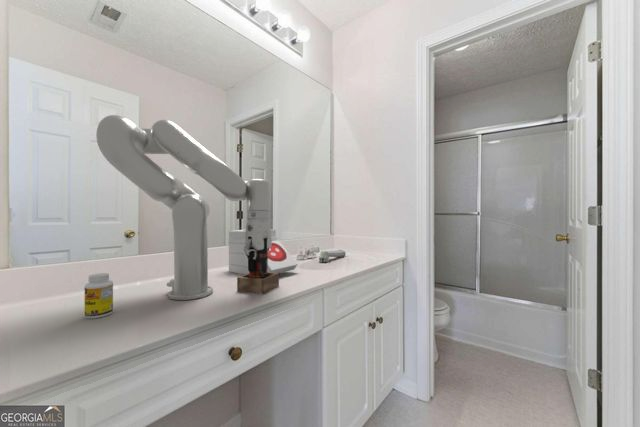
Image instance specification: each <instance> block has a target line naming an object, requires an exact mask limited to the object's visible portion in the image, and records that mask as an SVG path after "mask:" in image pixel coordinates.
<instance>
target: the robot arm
mask: <svg viewBox="0 0 640 427" xmlns="http://www.w3.org/2000/svg"><path fill="white" fill-rule="evenodd" d="M96 143H97V147H98V149H99V151H100V152H101V154H102V155H103V157H104V158H105V159H106V161H107V162H108V164H110V165H111V166H112V167H113V168H114V169H116V170H117V171H118V172H120V173H121V174H122V175H123V176H124V177H125V178H127V179H128V180H129V181H130V182H131V183H132V184H134V185H135V186H136V187H137V188H139V189H140V190H142V191H143V192H144V193H145V194H146V195H147V196H149V197H150V198H151V199H152V200H154V201H157V202H161V203H162V204H164V205H165V206H166V207H168V208H169V209H171V211H172V212H171V217H172V227H173V229H172V230H173V252H174V253H173V257H174V258H173V260H174V261H173V262H174V263H173V268H174V269H173V271H174V272H173V273H174V274H173V276H174V279H173V278H171V279H170V280H169V282H166V287H168V288H169V287H171V291H169V292H168V298H169V299H171V300H175V301H188V300H196V299H200V298H204V297H207V296H210V295H211V294H212V293H213V292H214V288H213V287H212V286H210V285H209V284H208V281H209V280H208V279H209V277H208V275H209V273H208V268H209V267H208V266H209V265H208V262H209V261H208V254H209V253H208V221H207V220H208V217H209V216H210V211H211V210H210V204H209V203H208V202H207V200H206V199H205V198H204V197H202V196H201V195H200V194H198V192H196V191H195V190H193V189H192V188H191V187H190V186H189V185H187V184H186V183H185V182H184V181H182V180H181V179H180V178H179V177H177V176H176V175H174V174H173V173H170V172H168V171H166V170H165V169H164V168H162V167H161V166H160V165H158V164H157V163H156V162H154V161H153V160H152V159H151V158H150V157H149V156H147V155H170V156H171V157H172V158H174V159H175V160H176V161H177V162H178V163H180V164H181V165H182V166H184V167H185V168H186V169H187V170H189V171H190V172H191V173H192V174H195V175H197V176H199V177H200V178H202V179H203V180H205V182H207V183H208V184H210V185H211V186H212V187H213V188H215V189H216V190H217V191H218V192H219V193H220V194H222V195H223V196H224V198H226V199H227V200H229V201H231V202H240V201H241V202H242V201H246V223H245V224H246V225H245V230H246V232H245V247H244V252H245V253H246V255H247V259H248V271H254V272H256V271H257V259H256V257H257V250H258V251H259V250H263V249H264V240H263V238H267V267H268V251H269V248H270V247H271V246H272V239H271V230H272V228H271V221H270V182H269V181H268V180H267V179H262V178H252V179H248V180H244V179H243V178H242V177H241V176H240V175H239V174H238V173H236V172H235V170H233V169H232V168H230V166H228V165H227V164H225V163H224V162H223V161H222V160H220V159H219V158H218V157H216V156H215V155H214V154H213V153H212V152H210V150H208V149H207V148H205V146H203V145H202V144H201V143H199V142H198V141H197V140H196V139H195V138H194V137H192V136H191V135H190V134H189V133H187V132H186V130H184V129H182V128H181V127H180V126H179V125H177V123H175V122H173V121H171V120H169V119H159V120H157V121H156V122H154V123H153V124H152V126H151V128H144V127H143V128H140V127H139V126H138V125H137V124H136V123H135V122H134V121H132V120H131V119H129V118H127V117H124V116H122V115H117V114H113V115H107V116H105V117H103V118H102V119H101V120H100V121H99V123H98V125H97V128H96ZM251 248H254V249H251ZM252 252H254V254H253V253H252Z"/></svg>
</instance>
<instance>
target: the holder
mask: <svg viewBox="0 0 640 427" xmlns="http://www.w3.org/2000/svg"><path fill="white" fill-rule="evenodd" d="M279 275H280V273H270V272H267V277H266V278H264V279H259V278H249V273H248V274H246V275H244V274H242V275H241V276H237V277H236V281H237V282H236V283H237V284H236V287H237V288H236V289H237V290H236V292H240V293H249V294H250V293H251V294H259V293H262V295H265V294H267V293H269V292H271V291H273V290H275V288H278V287H280V276H279ZM270 290H271V291H270Z"/></svg>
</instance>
